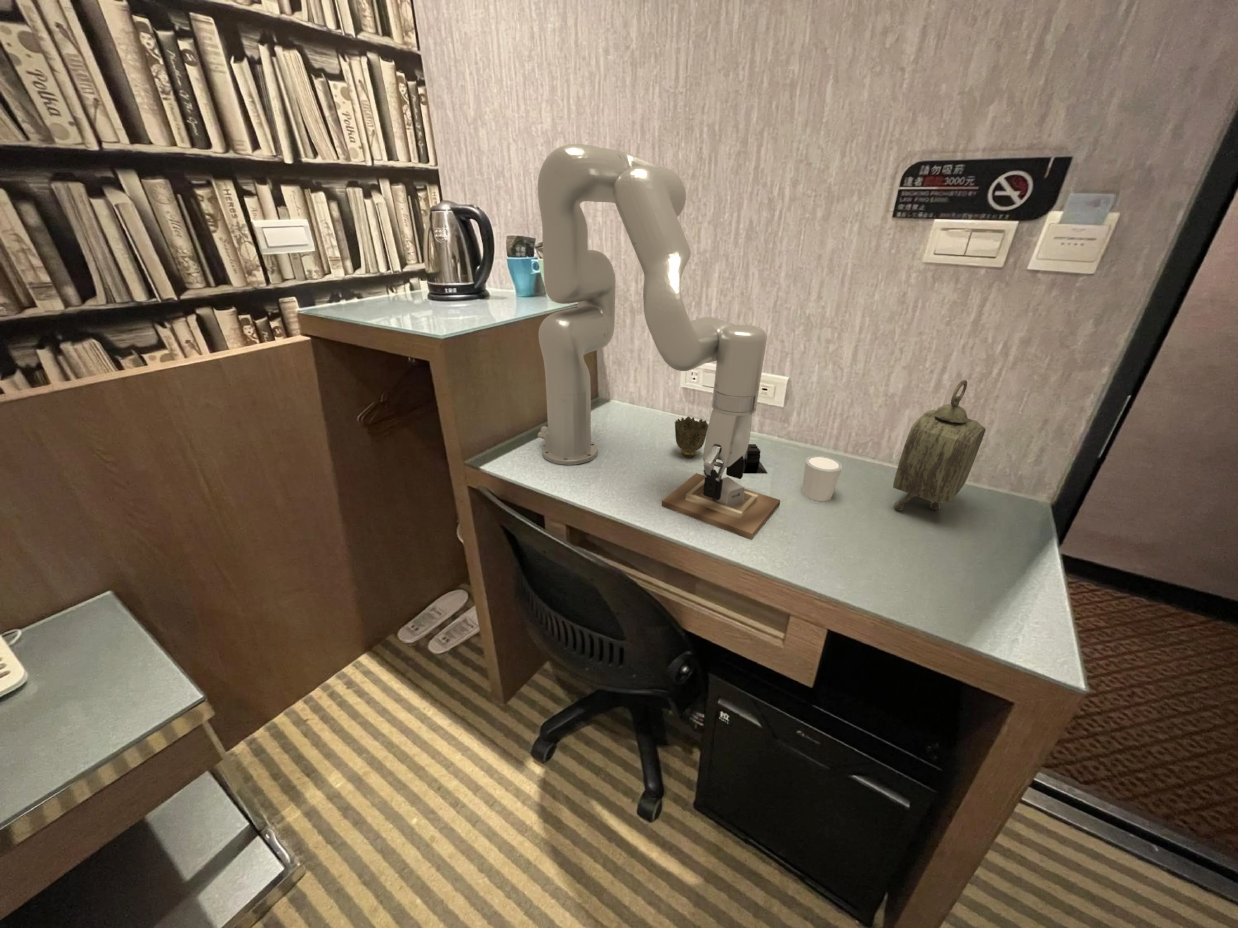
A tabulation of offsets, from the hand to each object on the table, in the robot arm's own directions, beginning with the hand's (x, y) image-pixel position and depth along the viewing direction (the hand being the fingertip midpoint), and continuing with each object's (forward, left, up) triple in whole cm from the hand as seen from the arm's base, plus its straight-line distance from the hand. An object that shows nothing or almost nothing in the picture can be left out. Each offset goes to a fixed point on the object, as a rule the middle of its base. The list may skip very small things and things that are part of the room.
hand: (723, 486), depth 95 cm
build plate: (-3, +20, -5) cm, 21 cm away
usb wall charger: (0, +1, -3) cm, 3 cm away
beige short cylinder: (+13, +16, -4) cm, 21 cm away
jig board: (0, 0, -4) cm, 4 cm away
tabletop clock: (+31, +24, -4) cm, 40 cm away
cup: (-16, +16, -4) cm, 23 cm away
